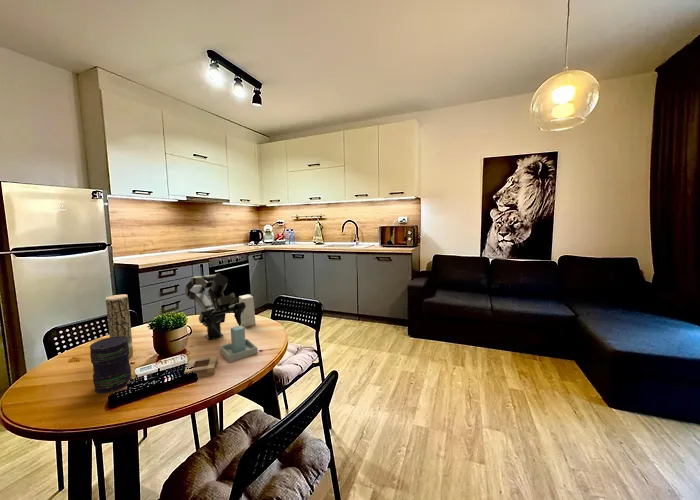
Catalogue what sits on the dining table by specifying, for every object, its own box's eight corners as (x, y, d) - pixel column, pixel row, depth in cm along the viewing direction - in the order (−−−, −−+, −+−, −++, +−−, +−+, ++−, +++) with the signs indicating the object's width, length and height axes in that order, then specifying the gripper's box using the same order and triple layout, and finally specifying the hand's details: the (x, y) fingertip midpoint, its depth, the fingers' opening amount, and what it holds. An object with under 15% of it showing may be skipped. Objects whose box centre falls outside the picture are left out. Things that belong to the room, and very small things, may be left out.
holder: (190, 365, 109) (190, 359, 109) (217, 361, 112) (217, 355, 111) (184, 379, 100) (183, 372, 100) (214, 374, 103) (213, 367, 102)
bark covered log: (135, 356, 117) (129, 296, 114) (113, 363, 112) (106, 300, 109) (131, 351, 121) (125, 293, 119) (110, 357, 116) (104, 296, 114)
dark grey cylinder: (112, 376, 102) (107, 336, 100) (139, 376, 102) (135, 336, 100) (85, 393, 92) (80, 348, 91) (115, 394, 92) (110, 349, 90)
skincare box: (255, 324, 151) (254, 296, 149) (243, 327, 147) (242, 298, 146) (251, 320, 158) (250, 293, 156) (239, 322, 154) (238, 295, 153)
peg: (231, 351, 119) (230, 328, 118) (241, 348, 122) (240, 325, 121) (236, 354, 116) (234, 330, 115) (245, 351, 119) (244, 327, 118)
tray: (220, 352, 120) (220, 346, 120) (247, 344, 127) (247, 338, 127) (229, 362, 111) (228, 355, 111) (257, 353, 118) (257, 347, 118)
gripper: (199, 292, 118) (211, 325, 112) (243, 284, 132) (256, 313, 125) (193, 306, 125) (205, 338, 118) (236, 297, 138) (248, 326, 132)
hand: (229, 328), depth 123 cm, fingers open, 9 cm apart
